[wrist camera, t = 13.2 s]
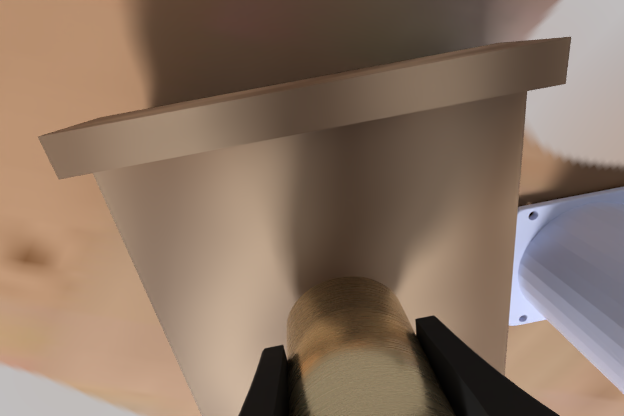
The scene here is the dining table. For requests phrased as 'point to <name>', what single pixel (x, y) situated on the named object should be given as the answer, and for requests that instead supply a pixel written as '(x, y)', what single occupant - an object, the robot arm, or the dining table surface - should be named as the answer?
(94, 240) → the dining table surface
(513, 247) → the box lid
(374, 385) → the cylinder
